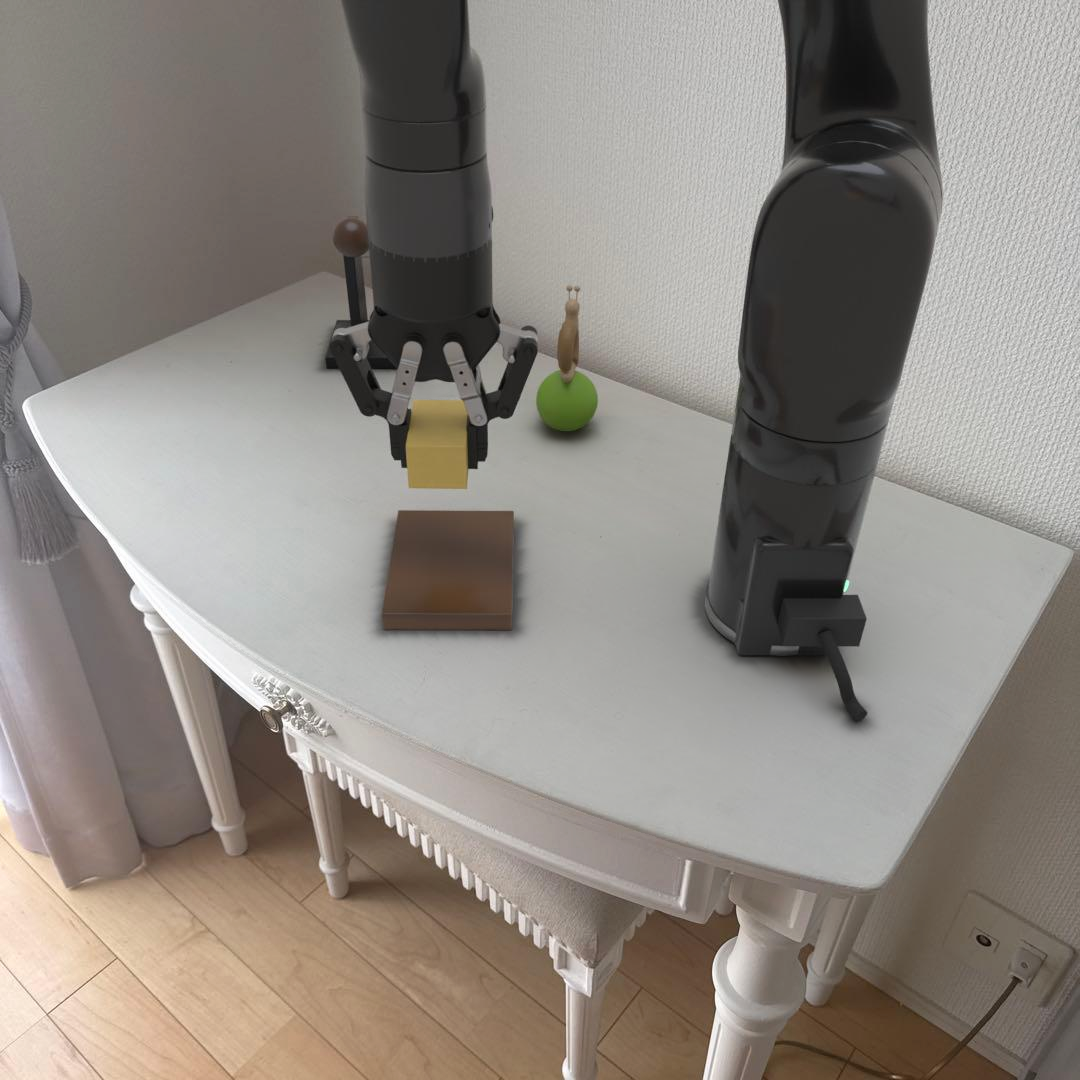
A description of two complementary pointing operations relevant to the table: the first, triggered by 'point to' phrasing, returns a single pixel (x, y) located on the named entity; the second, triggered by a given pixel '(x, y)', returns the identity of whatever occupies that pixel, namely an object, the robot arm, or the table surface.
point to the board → (450, 571)
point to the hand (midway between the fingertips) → (440, 461)
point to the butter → (437, 445)
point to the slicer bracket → (358, 313)
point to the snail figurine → (567, 380)
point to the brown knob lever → (351, 237)
